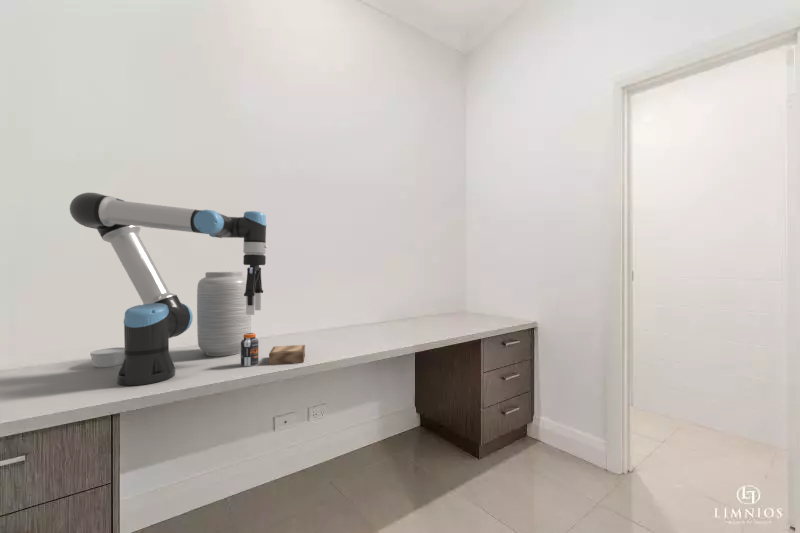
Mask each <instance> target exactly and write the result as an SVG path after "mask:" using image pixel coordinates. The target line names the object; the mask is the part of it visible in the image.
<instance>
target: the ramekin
mask: <svg viewBox="0 0 800 533" xmlns="http://www.w3.org/2000/svg"><path fill="white" fill-rule="evenodd" d="M89 354H90V357H91V361H92V365H93V367H95V368H98V369H99V368H100V369H102V368H111V367H112V368H113V367H117V366H118V367H119V366H122V363H123V360H124V358H125V347H109V348H101V349H97V350H93V351H91V352H90V353H89Z"/></svg>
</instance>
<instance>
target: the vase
mask: <svg viewBox="0 0 800 533" xmlns="http://www.w3.org/2000/svg"><path fill="white" fill-rule="evenodd" d="M204 274H205V276H204V277H203V278H200V279H199V280H198V283H197V287H196V288H197V289H196V307H197V308H196V321H197V322H196V324H197V325H196V327H197V328H196V330H197V331H196V332H197V343H198V344H197V345H198V347H199V349H200V350H201V351H203V352H204V353H205V355H207V356H209V357H226V356H233V355H236V354H237V355H238V354H241V341H242V340H244V334H245V333H252V315H246V296H244V293H245V290H246V281H247V277H244V276H243V275H244V274H243V272H242V271H207V272H205V273H204Z"/></svg>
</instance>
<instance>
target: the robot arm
mask: <svg viewBox="0 0 800 533" xmlns="http://www.w3.org/2000/svg"><path fill="white" fill-rule="evenodd" d="M69 212H70V215H71V217H72V218H73V220H74V221H75V222H77V223H78V224H79V225H81V226H82V227H83V226H84V227H85V228H86V227H87V228H90V229H94V230H97V232H98V234H99V236H100V237H101V239H102V240H103V241H104V242H106V243H110V244H111V246H112V248H113V250H114V252H115V253H116V255H117V257H118V259H119V261H120V263H121V265H122V267H123V268H124V270H125V273H126V274H127V276H128V278H129V279H130V282H131V283H132V285H133V287H134V288H135V290H136V292H137V294H138V296H139V297H140V299H141V302H142V303H143V304H137V305H134V306H131V307H129V308H128V309H126V310H125V312H124V317H123V318H124V319H123V327H124V329H123V331H124V335H123V336H124V348H125V358H124V360H123V363H122V364H121V365H120V366H121V367H120V369H119V371H118V375H117V384H119V385H121V386H141V385H142V386H144V385H149V384H155V383H159V382H163V381H166V380H169V379H171V378H173V377H175V376H176V367H175V364H174V362H173V359H172V357H171V354H170V350H169V349H170V348H169V343H170V342H169V341H170V340H169V339H172V338H173V337H175V338H176V337H178V336H180V335H182V334H183V333H185V332H186V331H187V330H188V329H190V327H191V325H192V322H193V317H194V316H193V311H192V310H191V309H190V307H189V306H188V305H186V304H184V303H182V302H181V300H180V299H179V296H178V295H177V294H175V293H172V292H171V291H170V290H169V289H168V288H169V287H167V284H166V283H165V280H164V279H163V278H162V276H161V274H160V271H159V270H158V268H157V266H156V264H155V263H154V260H153V259H152V258H151V255H150V253H149V251H148V249H147V247H146V246H145V244H144V242H143V240H142V239H141V237H140V235H139V234H140V231H141V228H150V229H158V230H169V231H177V232H178V231H179V232H185V233H186V232H187V233H197V234H202V235H203V234H205V235H209V237H212V238H219V239H222V238H228V239H229V238H230V239H233V238H235V239H236V238H238V239H240V238H241V239H242V238H243V250H242V251H243V254H244V255H243V262H242V263H243V265H244V266H249V267H247V268H246V270H247V274H246V278H247V281H246V290H245V293H244V296H246V315H251V316H254V315H256V311H262V294H264V290H263V285H262V284H263V282H262V267H260V266H265V265H266V260H267V258H266V255H265V254H266V249H268V245H266V240H267V239H266V238H267V221H266V220H267V219H266V217H267V216H266V214H265V213H264V212H261V211H255V210H254V211H253V210H251V211H245V212H244V213H243V216H239V217H237V216H227V215H225V214H221V213H219V212H217V211H215V210H213V209H212V210H211V209H193V208H185V207H176V206H167V205H161V204H152V203H141V202H132V201H126V200H124V199H121V198H117V197H114V196H110V195H105V194H101V193H97V192H84V193H81V194H78V195H76V196H75V197H73V199H72V200H71V202H70V204H69Z"/></svg>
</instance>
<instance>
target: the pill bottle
mask: <svg viewBox="0 0 800 533" xmlns="http://www.w3.org/2000/svg"><path fill="white" fill-rule="evenodd" d="M240 365H241V366H242V367H254V366H257V365H259V339H258V338H256V332H251V333H245V334H244V340H242V341H241V353H240Z"/></svg>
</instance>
